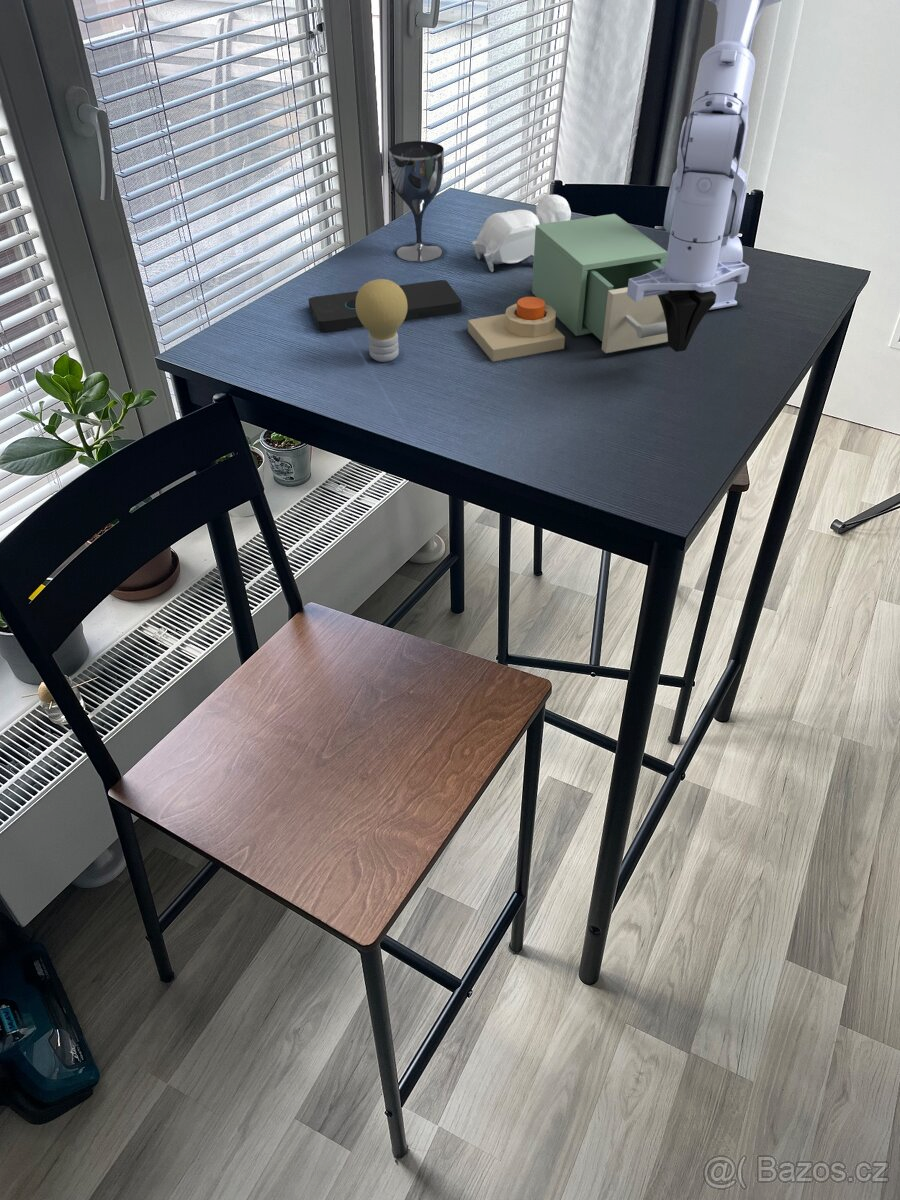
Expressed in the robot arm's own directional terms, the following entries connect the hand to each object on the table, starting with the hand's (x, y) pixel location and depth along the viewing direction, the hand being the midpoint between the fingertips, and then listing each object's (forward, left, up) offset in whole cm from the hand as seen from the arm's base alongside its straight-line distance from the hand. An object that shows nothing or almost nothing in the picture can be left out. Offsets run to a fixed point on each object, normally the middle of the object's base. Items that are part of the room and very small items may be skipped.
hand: (676, 347), depth 110 cm
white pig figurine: (+3, -41, -4) cm, 41 cm away
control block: (+14, -16, -4) cm, 22 cm away
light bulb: (+32, -18, -4) cm, 36 cm away
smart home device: (+28, -31, -4) cm, 42 cm away
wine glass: (+17, -49, -4) cm, 52 cm away
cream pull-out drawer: (0, -12, -3) cm, 12 cm away
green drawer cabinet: (0, -22, -4) cm, 22 cm away
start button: (+12, -16, -1) cm, 20 cm away
